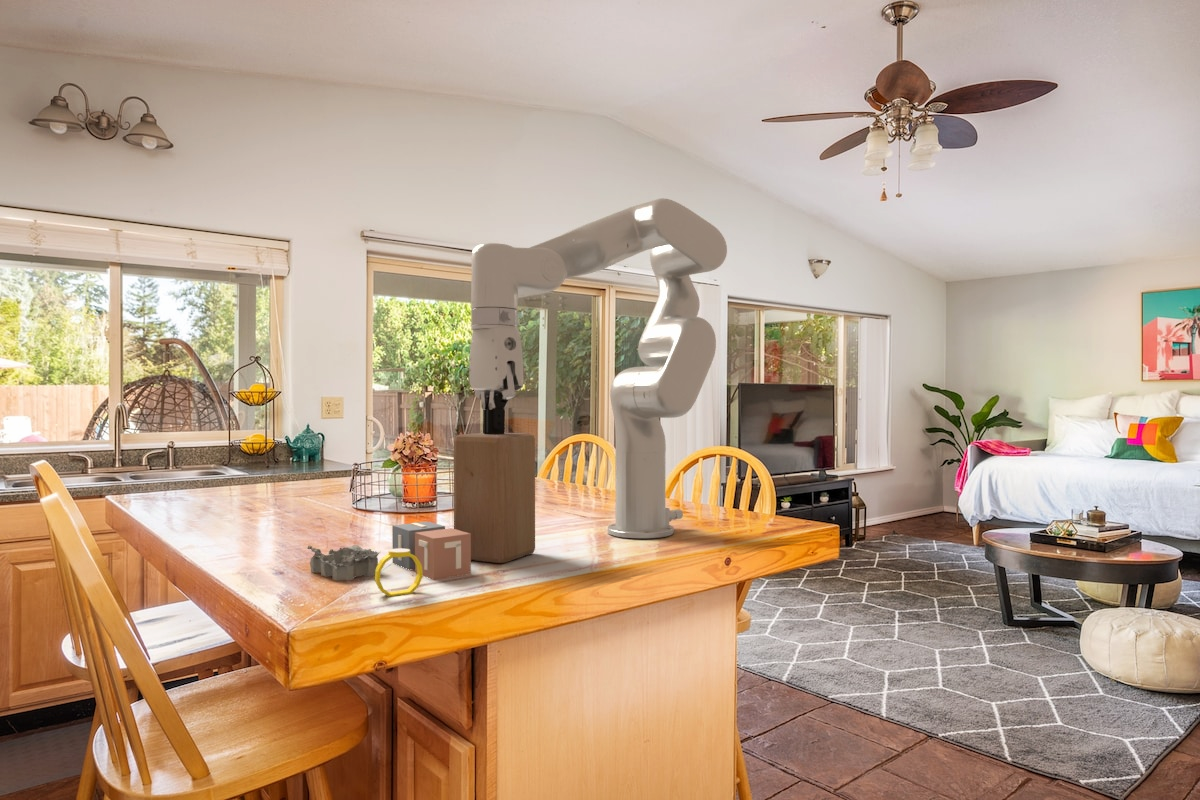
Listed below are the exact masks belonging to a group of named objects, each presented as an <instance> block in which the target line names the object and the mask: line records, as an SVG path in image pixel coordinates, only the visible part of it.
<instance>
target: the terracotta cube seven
mask: <svg viewBox="0 0 1200 800" xmlns="http://www.w3.org/2000/svg"><path fill="white" fill-rule="evenodd" d="M415 556H416V557H417V559H418V560H419V562H420V563H421V566H422V573H423V575H422V577H425V578H427V577H428V578H427V579H430V580H432V581H437V580H438V581H439V580H442V579H449V578H455V577H461V576H466V574H467V575H471V574H472V563H471V562H472V560H471V534H470V533H467V532H463V531H460V530H456V529H454V527H453V528H452V527H451V528H445V529H440V530H432V531H424V532H416V533H415ZM415 572H416V573H415ZM414 573H415V574H417V565H416V563H415V569H414ZM436 579H437V580H436Z"/></svg>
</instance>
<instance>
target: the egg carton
mask: <svg viewBox="0 0 1200 800" xmlns="http://www.w3.org/2000/svg"><path fill="white" fill-rule="evenodd" d="M307 550H311V552H313V553H314V554H313V556H311V558H310V559H309V560H310V561H309V565H310V572H311V573H313V574H314V573H315V574H317V573H320V576H321V577H332V580H334V581H351V579H352V580H355V578H356V577H363V576H362V575H366V576H365V577H372V576H375V570H376V567H377V565H378V564H379V561H378V560H379V559H378V556H379V554H380V553H381V551H380V552H377V550H375V551H374V550H372V549H371V548H368V549H366V548H362V547H361V546H360V545H358V544H357V545H356V544H354V545H351V546H348V547H340V548H339V549H338V550H334V549H331V548H330V549H329V550H328V554H323V553H322V551H321V549H320V548H315V547H313V546H312V545H311V544H309V545H308V546H307ZM355 576H356V577H355Z"/></svg>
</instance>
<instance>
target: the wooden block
mask: <svg viewBox="0 0 1200 800" xmlns="http://www.w3.org/2000/svg"><path fill="white" fill-rule="evenodd" d="M453 529H456V530H460V531H463V532H467V533H470V534H471V561H475V562H482V561H483V563H490V562H492V564H498V563H502V564H505V563H508V562H511V561H513V560H516V559H517V560H518V559H520V558H522V557H526V556H529V555H531V554H533V553H534V552H535V550H536V437H535V435H533V434H531V433H525V432H523V433H522V432H505V433H504V434H484V433H483V432H479V433H478V432H477V433H475V432H474V433H463V434H461V433H460V434H458V435H455V436H454V438H453ZM525 555H526V556H525Z"/></svg>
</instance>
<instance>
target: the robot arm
mask: <svg viewBox="0 0 1200 800" xmlns="http://www.w3.org/2000/svg"><path fill="white" fill-rule="evenodd" d="M647 250H650V254H649V261H650V266H651V269H652V271H653V273H654V276H655V279H656V283H657V287H658V288H657V289H658V295H657V301H656V302H655V305H654V308H653V310H652V312H651V314H650V317H649V318H648V321H647V323H646V325H645V327H644V330H643V332H642V333H641V336H640V339H639V341H638V347H637V352H638V356H639V359H640V360H641V362H643V364H645V365H646V366H634V367H628V368H626V369H622V370H621V371H620V372H619V373H617V374H616V376H615V377H614V379H613V381H612V383H611V384H610V390H609V391H610V392H609V394H610V395H609V396H610V397H609V398H610V404H611V409H612V413H613V420H614V421H613V422H614V433H615V435H614V436H615V456H614V457H615V460H614V461H615V471H614V472H615V479H614V481H615V523H612V524H609V525H607V529H606V530H607V533H608V534H609V535H611V536H614V537H617V538H625V539H658V538H665V537H666V538H667V537H669V536H671V535H673V534H674V532H675V530H674V529H675V528H674V526H673V525H671V524H670V522H672V520H673V521H675V520H681V519H682V518H683V517H684V513H683V510H682V509H680V508H679V509H678V508H677V509H672V510H670V508H669V507H666V448H667V445H666V436H665V432H664V429H663V426H662V423H661V422H660V421H661V420H660V418H664V419H665V418H666V419H669V418H670V419H672V418H673V419H675V418H679V417H682V416H684V415H686V414H687V413H688V412H689V411H690V410H691V409H692V408H693V406H694V405H695V403H696V401H697V399H698V397H699V394H700V392H701V389H702V387H703V385H704V382H705V380H706V378H707V376H708V373H709V370H710V368H711V366H712V364H713V361H714V357H715V353H716V348H717V338H716V334H715V333H716V332H715V330H714V328H713V326H712V324H711V323H709V321H707V320H706V319H705V318H703V317H700V316H698V315H699V311H700V304H701V303H700V302H701V301H700V299H699V294H698V292H697V290H696V288H695V286H694V283H693V281H692V279H691V275H696V274H702V273H708V272H712V271H715V270H717V269H718V268H720V267H721V266H722V265H723V263H724V262H725V261H726V258H727V256H728V255H727V254H728V246H727V242H726V239H725V237H724V235H723V233H722V232H721V231H720V230H719V229H718V228H717V227H716V226H714V225H713V224H712V223H711V222H709V221H708V220H706V219H704V218H703V217H701V216H700V215H698V214H697V213H695V212H694V211H693V210H691V209H689V208H687V206H685V205H683V204H681V203H679V202H677V201H675V200H672V199H669V198H658V199H653V200H650V201H647V202H644V203H640V204H635V205H633V206H631V207H628V208H624V209H622V210H619V211H617V212H615V213H612V214H610V215H609V214H608V215H607V216H605V217H602V218H598V219H596V220H595V221H591V222H589V223H586V224H583V225H581V226H578V227H575V228H574V229H571V230H569V231H567V232H565V233H563V234H561V235H557V236H556V237H553V238H551V239H548V240H546V241H544V242H540V243H538V244H534V245H532V246H529V247H514V246H511V245H508V244H505V243H498V242H497V243H496V242H495V243H493V242H489V243H481V244H478V245H476V246H475V247H474V248H473V249H472V252H471V284H470V286H471V287H470V291H471V292H470V293H471V295H470V296H471V297H470V298H471V299H470V301H471V303H470V304H471V306H470V307H471V310H470V312H471V313H470V314H471V315H470V316H471V317H470V318H471V319H470V322H471V324H470V325H471V327H470V329H471V331H472V334H471V338H470V339H471V341H470V348H469V349H470V351H469V364H468V365H469V371H468V373H469V374H468V377H469V379H468V380H469V386H470V388H472V389H473V390H474V397H475V398H477V399H479V400H480V405H481V409H482V433H484V434H504V433H506V410H507V409H508V401H509V400H510V399H511V400H512V398H514V397H516V391H519V390H521V389H522V388H523V387H524V359H523V356H524V355H523V347H522V346H523V345H522V339H521V333H520V329H519V311H518V310H519V299H520V298H525V297H530V296H537V295H538V296H539V295H543V294H548V293H551V292H554V291H555V290H557V289H559V288H560V287H561V286H562V284H563V283H564V282H565V280H567V279H570V278H575V277H581V276H584V275H585V276H586V275H589V274H593V273H597V272H599V271H601V270H604V269H607V268H608V267H611V266H613V265H615V264H617V263H620V262H622V261H625V260H626V259H628V258H631V257H634V256H636V255H638V254H640V253H643V252H645V251H647Z"/></svg>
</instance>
